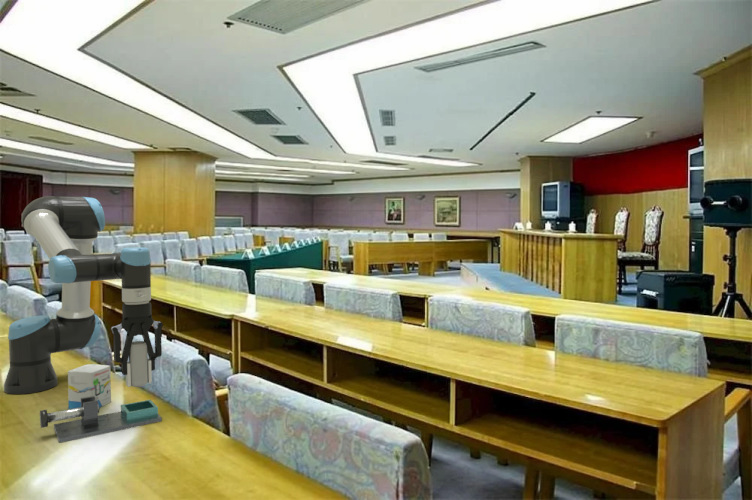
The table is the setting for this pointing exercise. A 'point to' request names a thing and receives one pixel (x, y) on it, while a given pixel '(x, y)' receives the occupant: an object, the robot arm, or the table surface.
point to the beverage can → (138, 363)
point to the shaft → (59, 415)
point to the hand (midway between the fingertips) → (138, 383)
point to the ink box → (89, 384)
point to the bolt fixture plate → (106, 419)
